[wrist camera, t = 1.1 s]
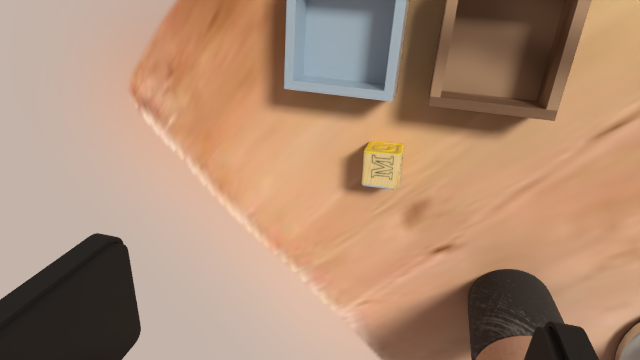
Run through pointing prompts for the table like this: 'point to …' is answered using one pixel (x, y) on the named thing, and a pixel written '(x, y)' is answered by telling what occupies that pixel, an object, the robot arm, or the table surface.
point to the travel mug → (507, 314)
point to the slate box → (345, 47)
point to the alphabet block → (382, 165)
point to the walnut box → (506, 55)
